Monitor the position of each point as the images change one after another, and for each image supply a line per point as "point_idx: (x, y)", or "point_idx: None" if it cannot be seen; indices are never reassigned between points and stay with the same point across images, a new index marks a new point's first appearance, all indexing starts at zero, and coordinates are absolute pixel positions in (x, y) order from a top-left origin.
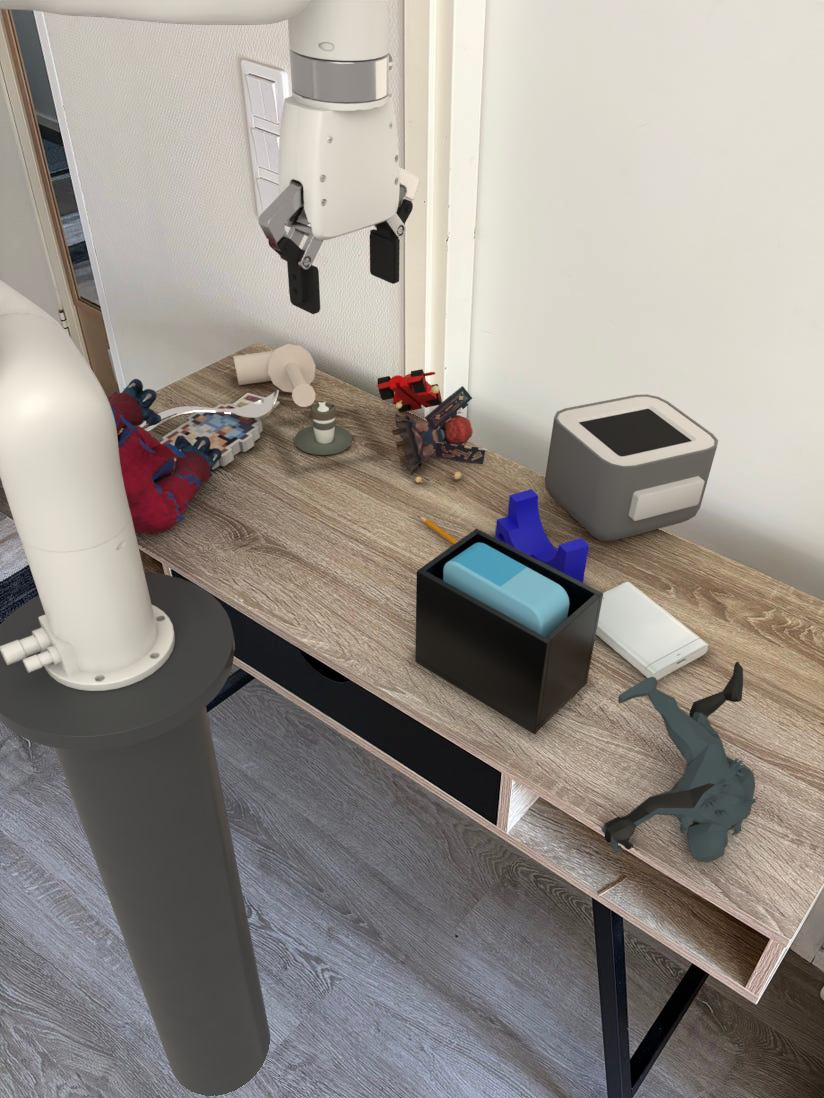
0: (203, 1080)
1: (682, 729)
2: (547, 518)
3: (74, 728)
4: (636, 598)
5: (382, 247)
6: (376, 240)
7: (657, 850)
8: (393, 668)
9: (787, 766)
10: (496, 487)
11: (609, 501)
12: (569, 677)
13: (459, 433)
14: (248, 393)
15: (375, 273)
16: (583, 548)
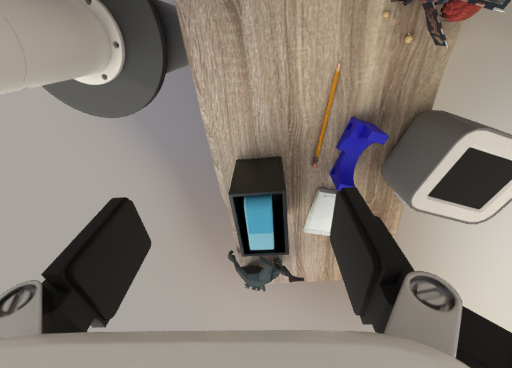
0: None
1: (262, 277)
2: (394, 124)
3: (55, 91)
4: None
5: (354, 274)
6: (363, 270)
7: (240, 259)
8: (225, 156)
9: (299, 267)
10: (414, 70)
11: (394, 188)
12: None
13: (453, 17)
14: None
15: (336, 205)
16: None
